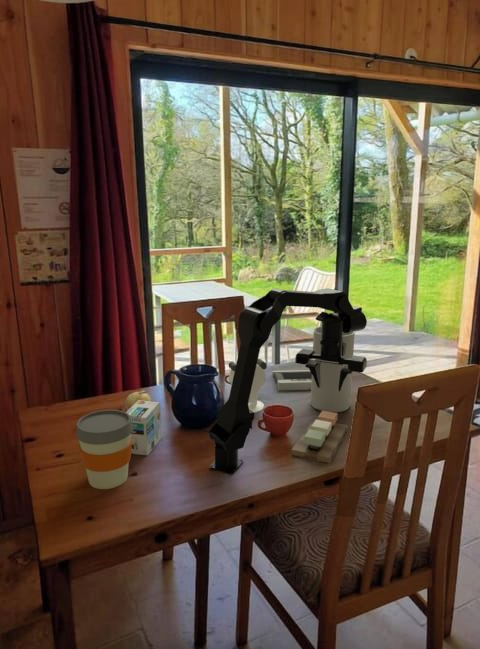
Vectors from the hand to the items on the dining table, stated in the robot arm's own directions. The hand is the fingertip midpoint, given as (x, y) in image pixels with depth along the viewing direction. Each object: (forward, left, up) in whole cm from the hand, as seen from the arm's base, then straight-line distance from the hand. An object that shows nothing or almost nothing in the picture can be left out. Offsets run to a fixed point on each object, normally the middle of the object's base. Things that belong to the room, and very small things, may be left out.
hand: (329, 389), depth 137 cm
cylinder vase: (+18, +4, -13) cm, 23 cm away
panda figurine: (+6, +28, -13) cm, 32 cm away
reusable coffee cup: (-46, +41, -13) cm, 63 cm away
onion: (-12, +57, -13) cm, 60 cm away
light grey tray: (+34, +20, -14) cm, 42 cm away
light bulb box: (-29, +43, -13) cm, 53 cm away
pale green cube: (-13, 0, -11) cm, 17 cm away
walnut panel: (-7, 0, -13) cm, 15 cm away
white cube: (-7, 0, -11) cm, 13 cm away
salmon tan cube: (0, 0, -11) cm, 11 cm away
